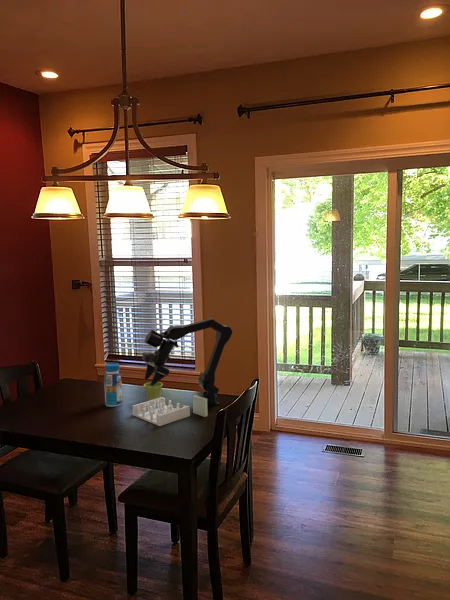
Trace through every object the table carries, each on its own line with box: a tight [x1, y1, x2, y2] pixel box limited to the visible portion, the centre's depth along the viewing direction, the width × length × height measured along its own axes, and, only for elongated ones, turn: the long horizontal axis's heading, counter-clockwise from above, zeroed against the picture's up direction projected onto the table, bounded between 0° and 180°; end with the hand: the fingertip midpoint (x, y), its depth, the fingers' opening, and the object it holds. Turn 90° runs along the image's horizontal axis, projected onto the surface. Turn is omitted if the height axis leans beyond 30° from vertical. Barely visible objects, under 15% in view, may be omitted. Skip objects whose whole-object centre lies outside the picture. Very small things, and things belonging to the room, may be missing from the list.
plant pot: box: [143, 381, 164, 401], centre depth 236 cm, size 9×9×9 cm
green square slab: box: [192, 394, 209, 418], centre depth 216 cm, size 2×8×8 cm, turn 45°
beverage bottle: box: [103, 362, 123, 408], centre depth 232 cm, size 8×8×20 cm
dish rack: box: [132, 396, 191, 427], centre depth 216 cm, size 17×20×4 cm
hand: (148, 382), depth 219 cm, fingers open, 9 cm apart
